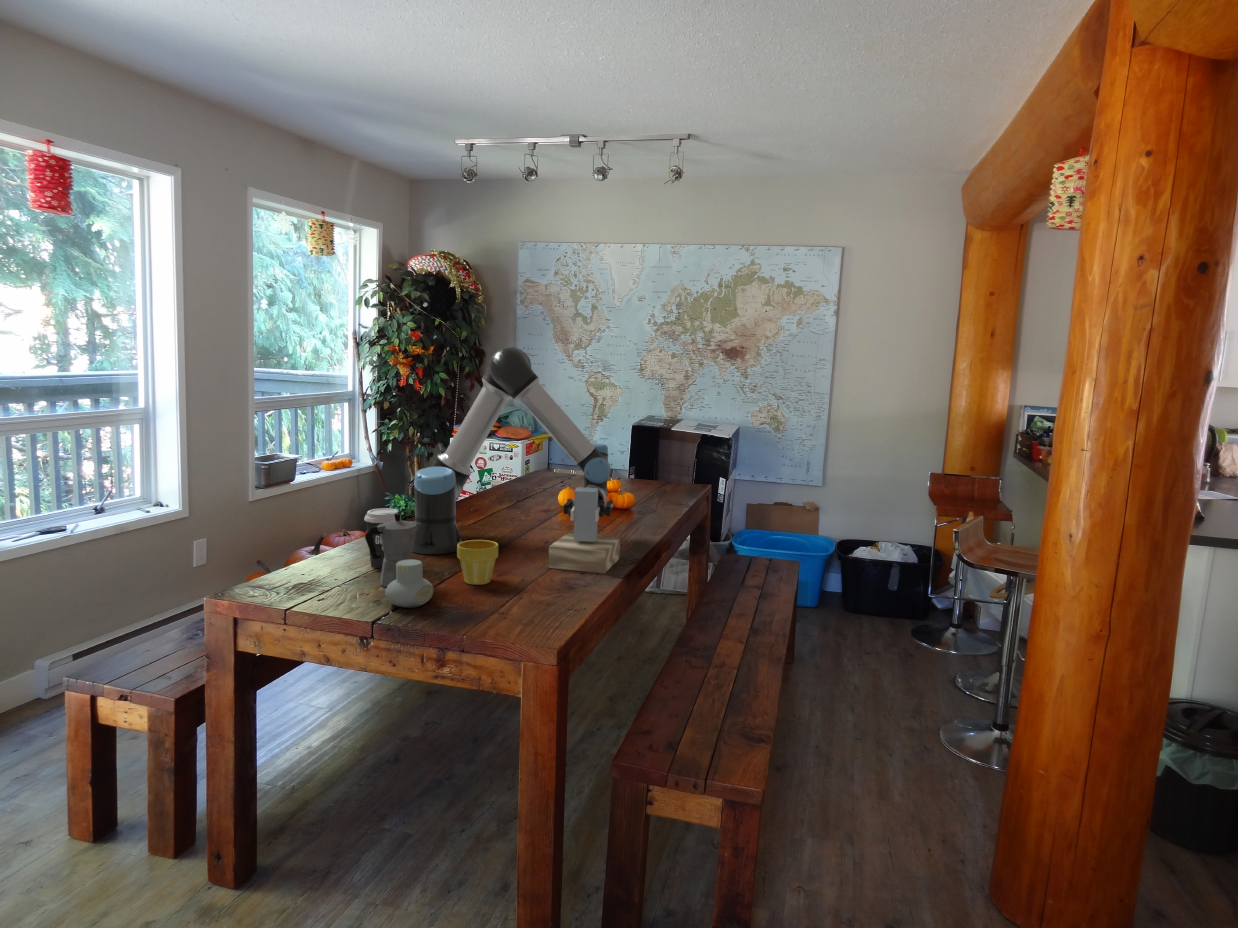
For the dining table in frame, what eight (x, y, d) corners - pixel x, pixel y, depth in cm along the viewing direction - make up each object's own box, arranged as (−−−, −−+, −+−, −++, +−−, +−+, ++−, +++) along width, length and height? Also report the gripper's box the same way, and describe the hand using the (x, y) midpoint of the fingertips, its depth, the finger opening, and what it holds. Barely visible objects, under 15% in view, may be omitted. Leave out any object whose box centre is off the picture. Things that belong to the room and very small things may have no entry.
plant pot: (480, 572, 210) (480, 537, 208) (506, 581, 203) (506, 544, 202) (448, 581, 202) (448, 543, 200) (475, 589, 195) (475, 551, 194)
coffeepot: (411, 574, 207) (410, 506, 204) (431, 582, 200) (431, 513, 198) (356, 585, 195) (355, 515, 193) (376, 594, 189) (375, 521, 186)
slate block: (595, 541, 218) (596, 491, 216) (573, 540, 218) (574, 491, 216) (597, 536, 224) (598, 488, 222) (576, 535, 224) (577, 487, 222)
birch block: (604, 573, 212) (605, 551, 211) (548, 567, 216) (548, 546, 215) (619, 558, 228) (620, 538, 227) (566, 553, 232) (567, 533, 231)
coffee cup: (364, 571, 208) (363, 515, 206) (365, 561, 217) (364, 508, 215) (401, 569, 210) (401, 514, 208) (401, 559, 220) (401, 507, 217)
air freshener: (409, 613, 177) (409, 570, 175) (379, 608, 180) (379, 565, 178) (438, 599, 187) (438, 559, 185) (409, 594, 190) (409, 554, 189)
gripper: (623, 513, 237) (618, 531, 215) (560, 510, 239) (549, 528, 216) (623, 488, 236) (619, 504, 214) (561, 486, 237) (549, 501, 215)
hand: (584, 516), depth 215 cm, fingers closed on slate block, 6 cm apart
